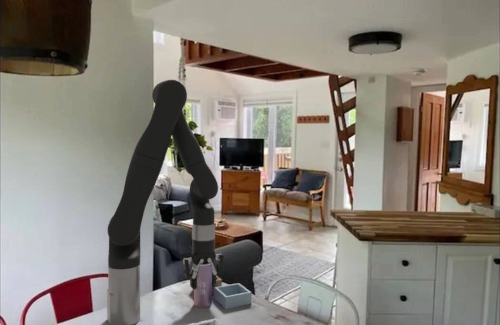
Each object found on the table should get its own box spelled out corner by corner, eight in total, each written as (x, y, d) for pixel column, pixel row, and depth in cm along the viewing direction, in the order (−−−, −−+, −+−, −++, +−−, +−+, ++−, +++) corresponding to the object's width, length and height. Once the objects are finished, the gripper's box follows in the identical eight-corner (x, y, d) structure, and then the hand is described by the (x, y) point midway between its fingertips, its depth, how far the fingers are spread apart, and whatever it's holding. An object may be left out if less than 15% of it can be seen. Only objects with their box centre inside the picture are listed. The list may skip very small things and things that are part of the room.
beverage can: (213, 303, 128) (213, 259, 128) (209, 310, 122) (210, 265, 122) (196, 302, 129) (196, 258, 128) (191, 309, 123) (192, 264, 122)
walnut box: (200, 300, 131) (200, 283, 130) (192, 292, 138) (192, 275, 137) (221, 296, 134) (221, 279, 134) (213, 288, 141) (213, 272, 141)
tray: (225, 311, 122) (225, 297, 122) (214, 300, 131) (214, 287, 130) (251, 305, 127) (251, 292, 126) (238, 295, 135) (239, 283, 135)
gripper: (186, 242, 118) (185, 294, 119) (228, 237, 125) (227, 287, 125) (179, 236, 125) (178, 286, 125) (219, 232, 131) (218, 280, 132)
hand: (203, 286), depth 125 cm, fingers closed on beverage can, 6 cm apart
